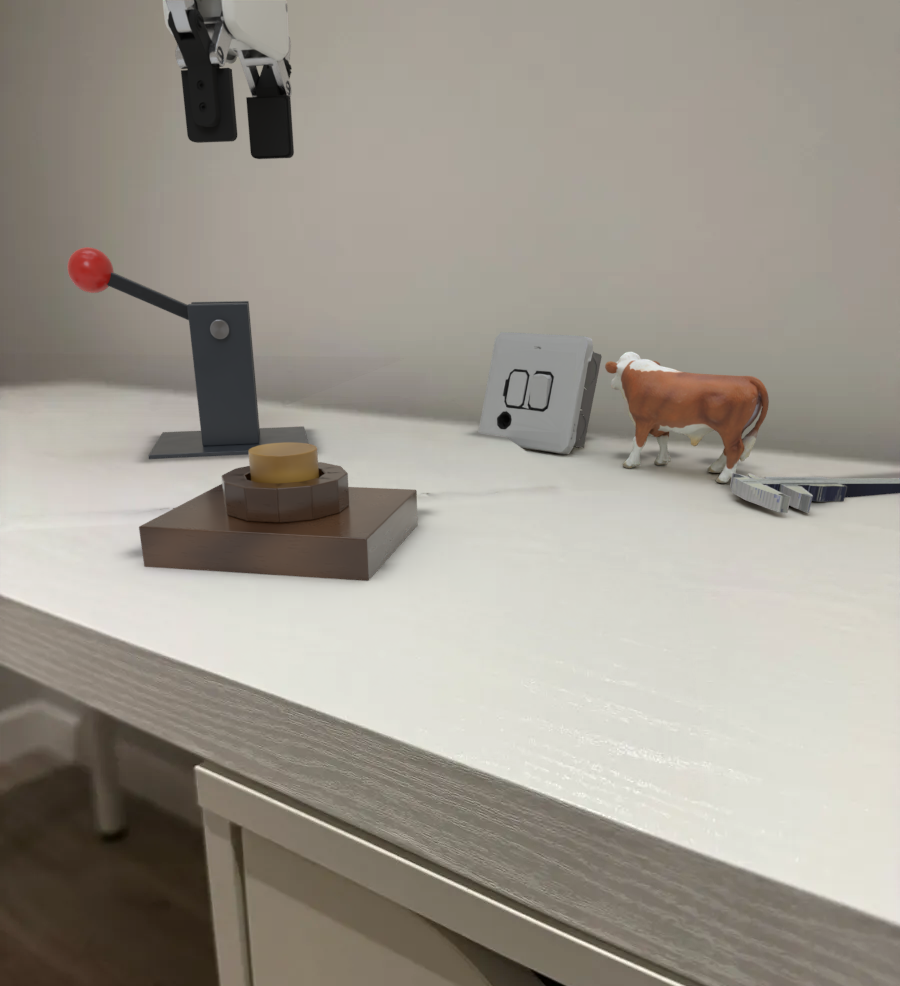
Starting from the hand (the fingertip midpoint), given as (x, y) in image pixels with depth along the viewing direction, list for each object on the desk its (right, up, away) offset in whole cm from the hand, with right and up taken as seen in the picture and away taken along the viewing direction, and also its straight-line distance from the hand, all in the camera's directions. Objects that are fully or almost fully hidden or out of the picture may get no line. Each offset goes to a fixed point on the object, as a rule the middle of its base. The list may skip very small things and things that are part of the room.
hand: (245, 150), depth 61 cm
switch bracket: (-4, -19, +11) cm, 23 cm away
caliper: (+43, -25, -4) cm, 50 cm away
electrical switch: (+22, -18, +14) cm, 31 cm away
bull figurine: (+31, -22, +5) cm, 38 cm away
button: (+5, -25, -14) cm, 29 cm away
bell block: (+5, -28, -12) cm, 31 cm away
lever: (-9, -10, +7) cm, 15 cm away
